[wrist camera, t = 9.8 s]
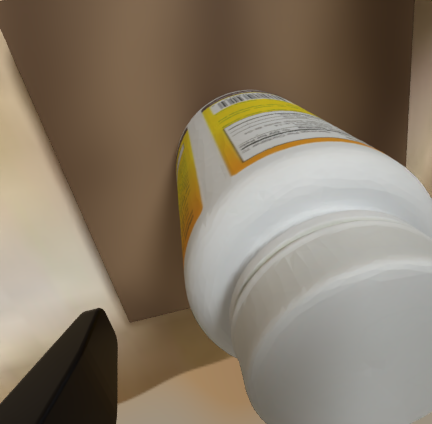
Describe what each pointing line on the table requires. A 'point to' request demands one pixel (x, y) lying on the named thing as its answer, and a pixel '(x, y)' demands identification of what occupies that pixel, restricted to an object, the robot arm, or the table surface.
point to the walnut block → (192, 101)
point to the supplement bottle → (307, 262)
